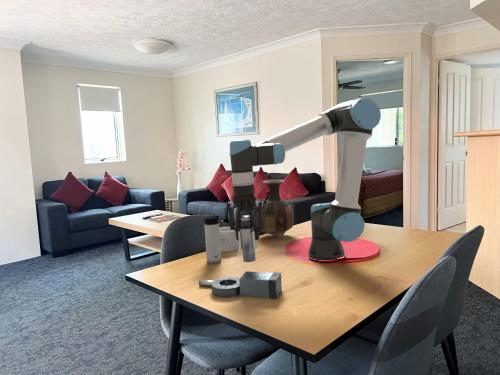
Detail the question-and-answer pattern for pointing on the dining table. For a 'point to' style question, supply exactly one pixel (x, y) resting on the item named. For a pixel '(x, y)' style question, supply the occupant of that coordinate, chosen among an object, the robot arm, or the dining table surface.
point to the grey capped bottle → (247, 239)
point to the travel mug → (212, 239)
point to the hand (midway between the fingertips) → (248, 248)
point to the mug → (228, 240)
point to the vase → (276, 211)
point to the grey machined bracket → (247, 285)
